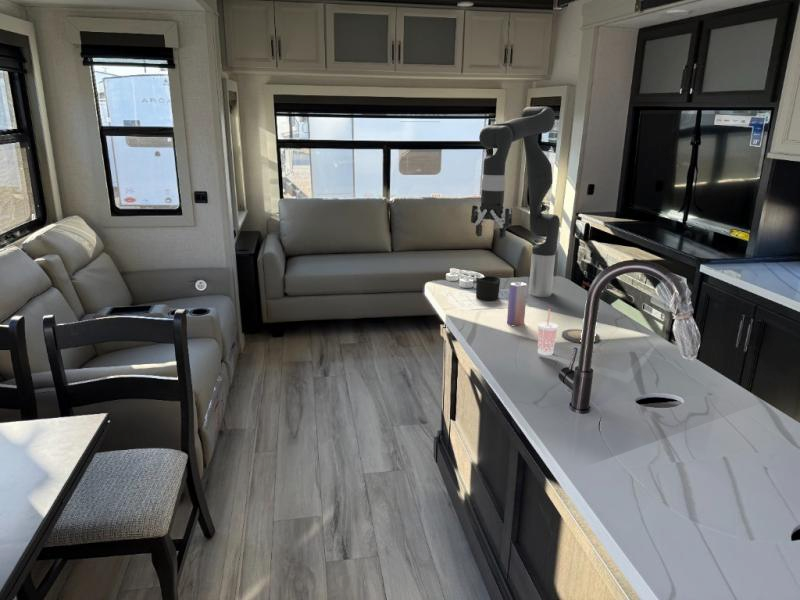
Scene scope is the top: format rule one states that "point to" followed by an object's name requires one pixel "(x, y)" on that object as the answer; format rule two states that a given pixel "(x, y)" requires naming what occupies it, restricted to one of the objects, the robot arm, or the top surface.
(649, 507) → the top surface
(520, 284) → the beverage can
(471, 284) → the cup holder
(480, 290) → the pen holder
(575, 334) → the coaster
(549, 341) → the beverage cup
